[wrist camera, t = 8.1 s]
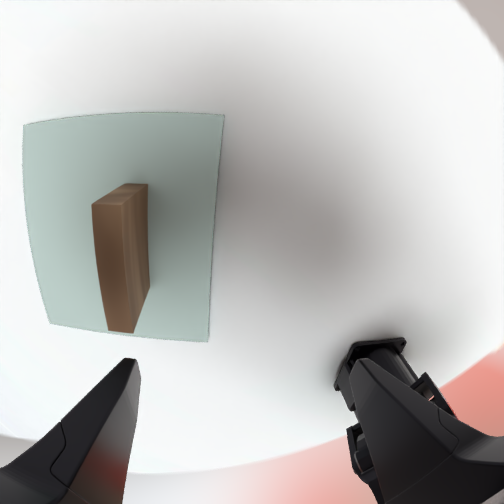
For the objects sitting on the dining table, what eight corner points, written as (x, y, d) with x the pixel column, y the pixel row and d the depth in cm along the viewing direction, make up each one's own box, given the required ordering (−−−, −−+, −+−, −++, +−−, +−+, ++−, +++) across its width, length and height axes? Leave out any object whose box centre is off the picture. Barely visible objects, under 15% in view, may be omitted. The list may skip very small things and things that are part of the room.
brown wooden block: (148, 183, 16) (121, 204, 11) (150, 286, 18) (133, 333, 14) (123, 183, 15) (89, 204, 11) (128, 284, 18) (106, 330, 13)
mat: (224, 115, 15) (224, 114, 14) (208, 337, 21) (208, 342, 21) (28, 124, 13) (23, 125, 12) (52, 319, 19) (49, 323, 19)
